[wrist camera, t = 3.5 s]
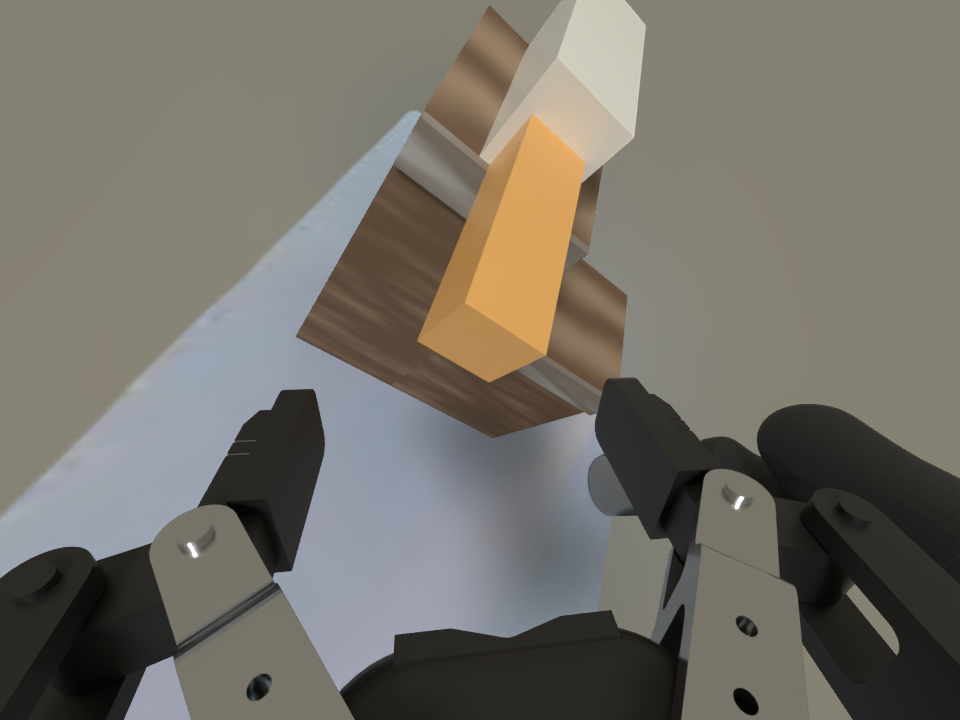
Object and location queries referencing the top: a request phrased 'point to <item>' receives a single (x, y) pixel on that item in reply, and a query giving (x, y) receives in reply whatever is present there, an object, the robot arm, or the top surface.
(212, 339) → the top surface
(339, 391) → the top surface
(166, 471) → the top surface
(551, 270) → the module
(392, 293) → the rail stand
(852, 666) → the robot arm
